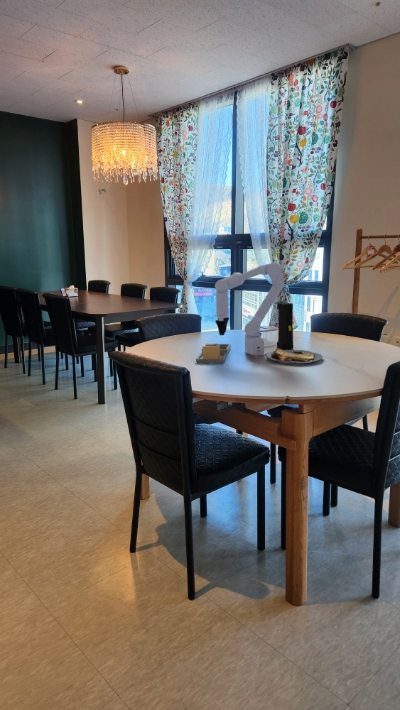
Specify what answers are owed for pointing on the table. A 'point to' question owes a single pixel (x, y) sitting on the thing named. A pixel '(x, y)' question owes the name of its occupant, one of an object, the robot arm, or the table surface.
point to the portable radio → (285, 326)
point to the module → (211, 351)
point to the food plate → (293, 356)
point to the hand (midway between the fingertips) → (222, 333)
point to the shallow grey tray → (214, 361)
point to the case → (224, 348)
